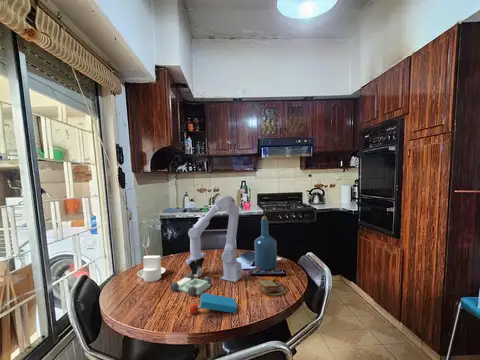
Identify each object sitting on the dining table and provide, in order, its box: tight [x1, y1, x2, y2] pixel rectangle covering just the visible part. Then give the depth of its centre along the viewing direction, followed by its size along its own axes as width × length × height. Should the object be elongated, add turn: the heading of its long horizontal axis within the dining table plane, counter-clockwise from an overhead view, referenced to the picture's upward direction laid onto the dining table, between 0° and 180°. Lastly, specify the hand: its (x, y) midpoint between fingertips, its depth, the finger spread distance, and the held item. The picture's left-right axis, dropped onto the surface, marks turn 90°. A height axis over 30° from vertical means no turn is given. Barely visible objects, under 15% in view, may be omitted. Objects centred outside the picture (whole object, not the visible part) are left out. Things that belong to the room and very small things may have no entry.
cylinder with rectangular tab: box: [142, 255, 162, 283], centre depth 129 cm, size 9×9×12 cm
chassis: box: [170, 272, 212, 297], centre depth 116 cm, size 16×13×4 cm
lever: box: [189, 292, 238, 315], centre depth 96 cm, size 7×7×18 cm
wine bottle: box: [253, 215, 278, 271], centre depth 140 cm, size 14×13×30 cm
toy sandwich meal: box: [258, 276, 288, 297], centre depth 111 cm, size 12×14×5 cm
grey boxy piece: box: [190, 265, 203, 278], centre depth 131 cm, size 4×4×5 cm
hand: (196, 272), depth 131 cm, fingers closed on grey boxy piece, 4 cm apart
